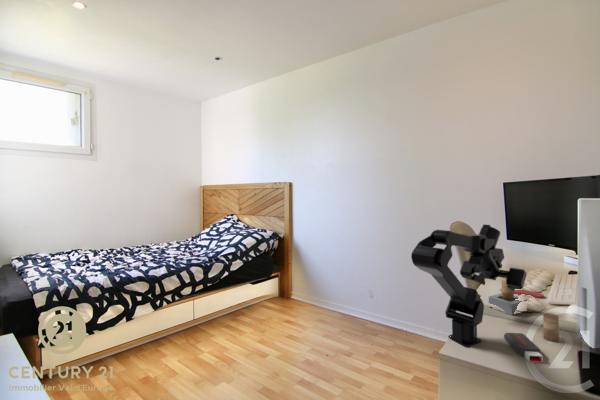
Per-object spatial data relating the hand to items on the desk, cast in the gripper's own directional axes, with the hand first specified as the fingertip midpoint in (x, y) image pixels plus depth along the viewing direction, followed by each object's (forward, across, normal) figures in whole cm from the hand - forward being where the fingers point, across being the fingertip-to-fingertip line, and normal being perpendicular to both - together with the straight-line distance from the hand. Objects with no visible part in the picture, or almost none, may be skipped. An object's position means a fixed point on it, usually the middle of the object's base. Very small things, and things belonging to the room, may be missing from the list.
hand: (498, 286), depth 107 cm
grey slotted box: (+13, 0, +2) cm, 13 cm away
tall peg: (+13, 0, +2) cm, 13 cm away
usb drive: (-5, -13, +21) cm, 25 cm away
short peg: (+2, -16, +12) cm, 20 cm away
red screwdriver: (+27, +2, -12) cm, 29 cm away
